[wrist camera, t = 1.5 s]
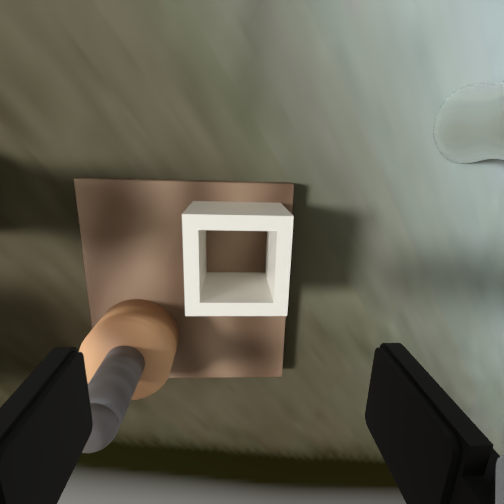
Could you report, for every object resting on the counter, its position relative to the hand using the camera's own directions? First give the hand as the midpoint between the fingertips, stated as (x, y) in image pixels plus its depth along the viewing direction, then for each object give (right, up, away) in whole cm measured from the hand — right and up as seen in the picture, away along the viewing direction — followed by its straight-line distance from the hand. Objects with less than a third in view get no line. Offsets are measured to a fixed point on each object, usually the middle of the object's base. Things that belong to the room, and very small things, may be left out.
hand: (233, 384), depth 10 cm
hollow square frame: (-1, +5, +17) cm, 18 cm away
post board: (-5, +2, +19) cm, 20 cm away
